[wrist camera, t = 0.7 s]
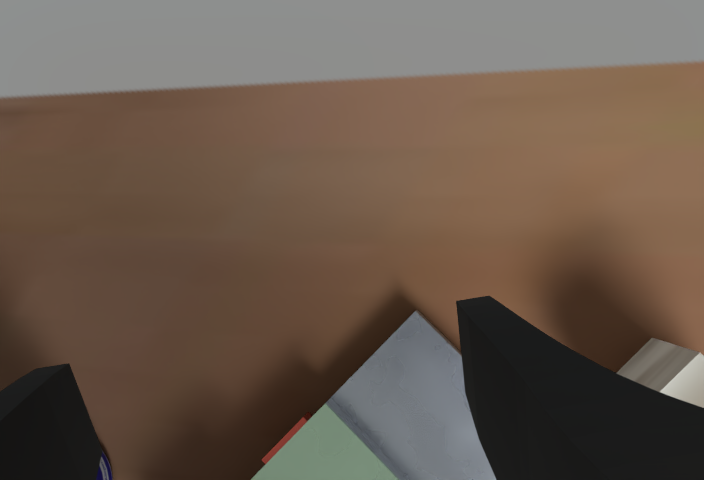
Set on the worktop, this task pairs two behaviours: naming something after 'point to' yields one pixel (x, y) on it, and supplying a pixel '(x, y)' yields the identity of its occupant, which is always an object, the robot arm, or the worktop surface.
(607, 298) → the worktop surface
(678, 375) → the column block
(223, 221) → the worktop surface
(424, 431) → the stepped stand
